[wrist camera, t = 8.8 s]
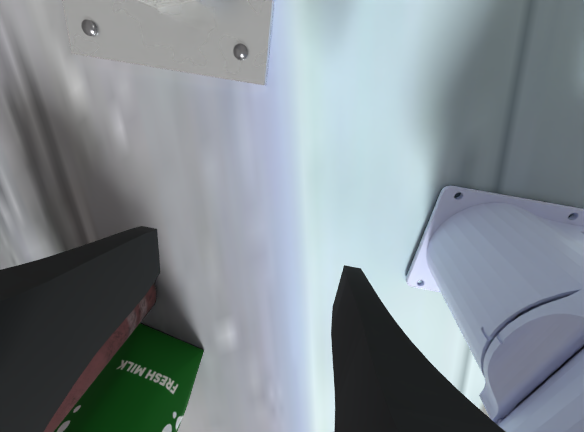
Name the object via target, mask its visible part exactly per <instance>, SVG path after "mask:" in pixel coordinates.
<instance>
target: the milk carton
mask: <svg viewBox="0 0 584 432" xmlns="http://www.w3.org/2000/svg"><path fill="white" fill-rule="evenodd" d="M203 352H204V350H202V349H200V348H197V347H195V346H193V345H190V344H188V343H186V342H183V341H181V340H179V339H176V338H174V337H171V336H169V335H167V334H164V333H162V332H160V331H157V330H155V329H153V328H150V327H148V326H145V325H143V324H141V323H139V325H138V326H137V327H136V328H135V330H134V331H133V332H132V334H131V335H130V336H129V337H128V339H127V340H126V341H125V342H124V344H123V345H122V346H121V347H120V349H119V350H118V351H117V352H116V354H115V355H114V356H113V357H112V359H111V360H110V361H109V363H108V364H107V365H106V366H105V368H104V369H103V370H102V371H101V373H100V374H99V375H98V376H97V378H96V379H95V380H94V381H93V383H92V384H91V385H90V387H89V388H88V389H87V390H86V392H85V393H84V394H83V395H82V397H81V398H80V399H79V400H78V402H77V403H76V404H75V405H74V407H73V408H72V409H71V411H70V412H69V413H68V414H67V416H66V417H65V418H64V419H63V421H62V422H61V423H60V424H59V426H58V427H57V428H56V429H55V431H54V432H177V431H178V428H179V426H180V423H181V421H182V418H183V416H184V413H185V410H186V407H187V404H188V401H189V398H190V394H191V391H192V388H193V384H194V381H195V378H196V374H197V371H198V368H199V365H200V362H201V358H202V355H203Z"/></svg>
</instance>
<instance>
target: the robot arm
mask: <svg viewBox="0 0 584 432" xmlns="http://www.w3.org/2000/svg"><path fill="white" fill-rule="evenodd" d="M458 192H461V195H460V196H459V197H457V198H454V195H455V194H456V193H458ZM572 213H573V215H572V216H571V217H569V215H570V214H572ZM568 217H569V218H568ZM159 273H160V264H159V250H158V237H157V229H154V228H148V227H143V226H141V227H137V228H133V229H130V230H127V231H124V232H121V233H118V234H115V235H112V236H109V237H107V238H104V239H101V240H98V241H95V242H92V243H90V244H87V245H84V246H81V247H78V248H75V249H72V250H69V251H65V252H62V253H59V254H56V255H53V256H50V257H47V258H43V259H40V260H37V261H33V262H29V263H26V264H22V265H18V266H14V267H10V268H6V269H2V270H0V432H44V430H45V429H46V427H47V426H48V424H49V422H50V421H51V419H52V417H53V416H54V414H55V413H56V411H57V410H58V408H59V407H60V405H61V404H62V402H63V401H64V399H65V398H66V396H67V395H68V393H69V392H70V390H71V389H72V387H73V386H74V384H75V383H76V381H77V380H78V379H79V377H80V376H81V374H82V373H83V371H84V370H85V369H86V367H87V366H88V364H89V363H90V362H91V360H92V359H93V357H94V356H95V355H96V353H97V352H98V351H99V350H100V348H101V347H102V346H103V345H104V343H105V342H106V341H107V340H108V339H109V338H110V336H111V335H112V334H113V333H114V332H115V331H116V329H117V328H118V327H119V326H120V325H121V324H122V322H123V321H124V320H125V319H126V318H127V317H128V315H129V314H130V313H131V312H132V311H133V309H134V308H135V307H136V306H137V305H138V304H139V302H140V301H141V300H142V299H143V298H144V296H145V295H146V294H147V292H148V291H149V289H150V288H151V286H152V285H153V283H154V282H155V280H156V278H157V277H158V275H159ZM420 280H422V282H420V283H418V281H420ZM406 282H407V284H408V285H409V286H411V287H415V288H420V289H426V290H431V291H436V292H441V294H442V296H443V297H444V299H445V301H446V303H447V305H448V307H449V309H450V311H451V313H452V315H453V317H454V319H455V321H456V323H457V325H458V327H459V329H460V331H461V333H462V334H463V336H464V338H465V340H466V342H467V344H468V346H469V348H470V350H471V352H472V354H473V356H474V358H475V360H476V362H477V364H478V366H479V368H480V370H481V371H482V373H483V375H484V377H485V387H484V389H483V391H482V392H481V393H480V395H479V396H480V398H481V400H482V402H483V404H484V407H485V409H486V411H487V413H488V415H489V417H490V418H489V417H488V416H487V415H485V414H484V413H483V412H482V411H481V410H480V409H478V408H477V407H476V406H475V405H474V404H473V403H472V402H471V401H469V400H468V399H467V398H466V397H465V396H464V395H463V394H462V393H461V392H460V391H458V390H457V389H456V388H455V387H454V386H453V385H452V384H451V383H450V382H449V381H448V380H447V379H446V378H445V377H444V376H443V375H442V374H441V373H440V372H439V371H438V370H437V369H436V368H435V367H434V366H433V365H432V364H431V363H430V362H429V361H428V360H427V358H426V357H425V356H424V355H423V354H422V353H421V352H420V351H419V349H418V348H417V347H416V346H415V345H414V344H413V343H412V342H411V340H410V339H409V338H408V337H407V336H406V334H405V333H404V332H403V331H402V329H401V328H400V327H399V325H398V324H397V323H396V321H395V320H394V319H393V317H392V316H391V315H390V313H389V312H388V310H387V309H386V307H385V306H384V304H383V303H382V302H381V300H380V299H379V297H378V295H377V294H376V292H375V291H374V289H373V288H372V286H371V284H370V283H369V281H368V279H367V278H366V276H365V274H364V273H363V271H362V270H361V269H360V268H355V267H350V266H345V265H344V268H343V272H342V275H341V279H340V283H339V286H338V290H337V293H336V297H335V301H334V304H333V311H332V328H331V337H332V354H333V370H334V386H335V432H584V209H582V208H576V207H571V206H565V205H559V204H554V203H548V202H542V201H537V200H531V199H525V198H520V197H514V196H508V195H503V194H497V193H491V192H485V191H480V190H474V189H468V188H463V187H457V186H446V187H444V188H443V189H442V190H441V192H440V195H439V197H438V200H437V202H436V205H435V207H434V210H433V212H432V214H431V217H430V219H429V222H428V224H427V227H426V229H425V232H424V234H423V237H422V239H421V242H420V244H419V247H418V249H417V252H416V254H415V257H414V259H413V262H412V264H411V267H410V269H409V272H408V274H407V277H406Z"/></svg>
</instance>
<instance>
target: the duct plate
mask: <svg viewBox="0 0 584 432" xmlns="http://www.w3.org/2000/svg"><path fill="white" fill-rule="evenodd" d="M62 2H63V8H64V14H65V19H66V25H67V31H68V37H69V42H70V48H71V54H77V55H83V56H89V57H95V58H101V59H107V60H113V61H120V62H126V63H132V64H138V65H144V66H150V67H156V68H162V69H168V70H174V71H180V72H187V73H193V74H199V75H205V76H211V77H217V78H223V79H229V80H235V81H241V82H247V83H254V84H260V85H266V82H267V71H268V61H269V50H270V40H271V29H272V19H273V8H274V0H197V1H196V2H190V3H184V4H179V5H173V6H167V7H162V8H155V7H153V6H150V5H148V4H145V3H143V2H140V1H138V0H62Z"/></svg>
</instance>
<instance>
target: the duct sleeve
mask: <svg viewBox="0 0 584 432" xmlns="http://www.w3.org/2000/svg"><path fill="white" fill-rule="evenodd" d="M138 1H140V2H143V3H145V4H148V5H150V6H153V7H155V8H162V7H167V6H173V5H179V4H184V3H190V2H196V1H197V0H138Z"/></svg>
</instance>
